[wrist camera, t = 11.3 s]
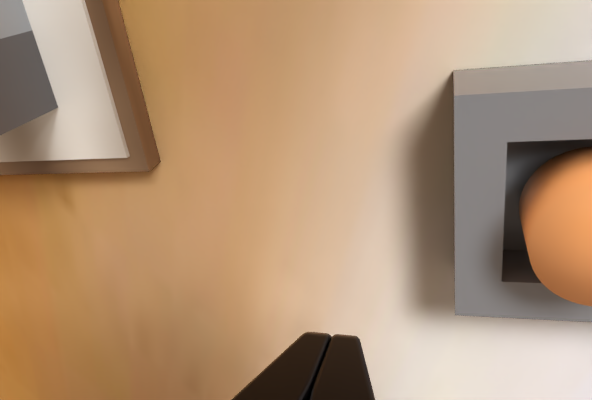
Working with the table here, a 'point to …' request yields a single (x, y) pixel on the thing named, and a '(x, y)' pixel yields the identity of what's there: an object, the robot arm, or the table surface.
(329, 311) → the table surface
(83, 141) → the drawing board
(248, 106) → the table surface
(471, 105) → the button housing
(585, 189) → the button
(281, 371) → the robot arm
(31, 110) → the grey rectangular block
